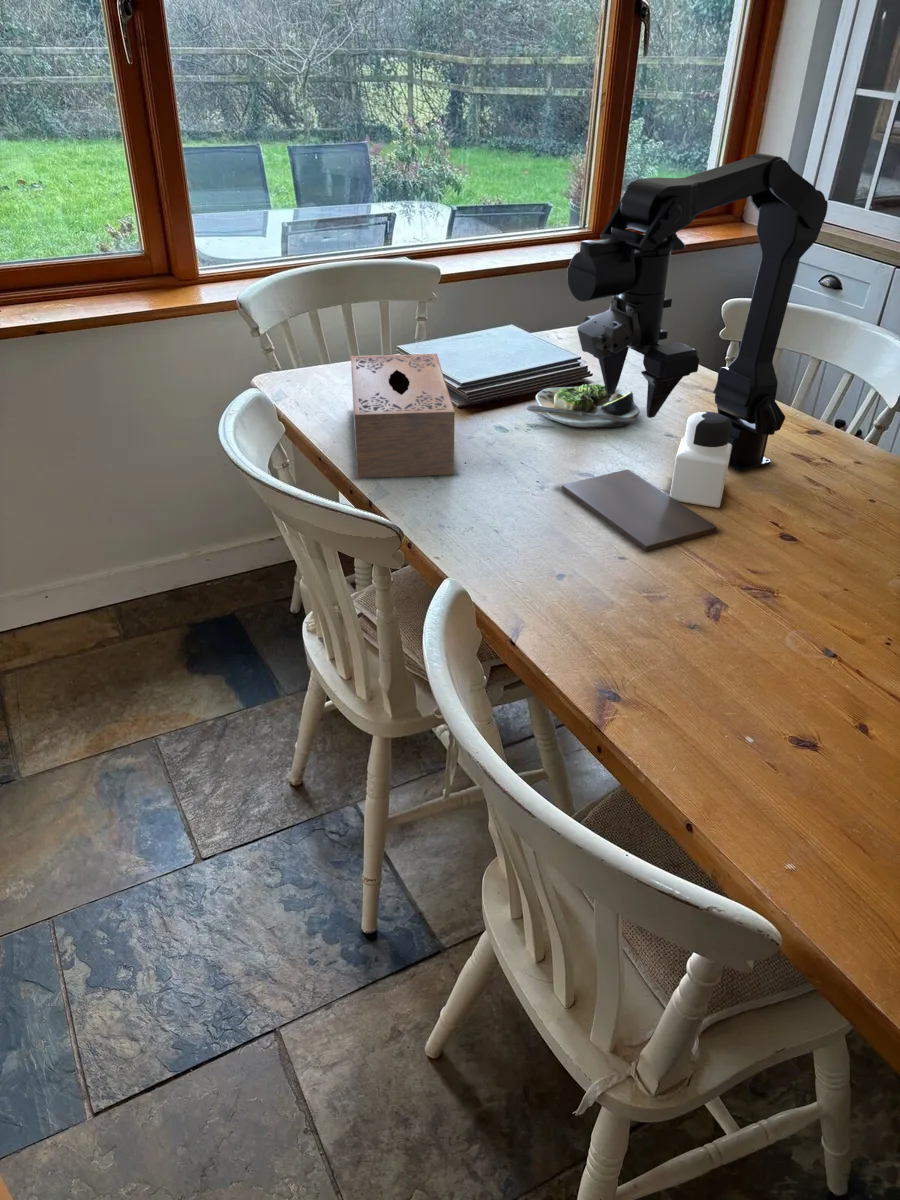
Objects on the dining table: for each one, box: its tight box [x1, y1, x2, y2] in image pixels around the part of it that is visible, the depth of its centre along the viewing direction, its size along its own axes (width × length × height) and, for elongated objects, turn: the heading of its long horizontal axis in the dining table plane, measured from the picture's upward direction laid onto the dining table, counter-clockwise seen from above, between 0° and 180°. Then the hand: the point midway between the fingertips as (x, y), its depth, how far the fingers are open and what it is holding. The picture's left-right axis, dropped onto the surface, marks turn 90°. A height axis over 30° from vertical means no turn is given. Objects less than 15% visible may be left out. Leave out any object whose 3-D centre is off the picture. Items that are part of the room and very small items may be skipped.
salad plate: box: [526, 383, 640, 428], centre depth 157 cm, size 19×18×5 cm
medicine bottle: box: [669, 411, 732, 509], centre depth 129 cm, size 7×7×12 cm
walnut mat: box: [561, 469, 718, 552], centre depth 128 cm, size 12×20×1 cm, turn 27°
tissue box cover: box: [350, 353, 456, 479], centre depth 144 cm, size 26×14×10 cm, turn 6°
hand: (630, 405), depth 124 cm, fingers open, 9 cm apart
